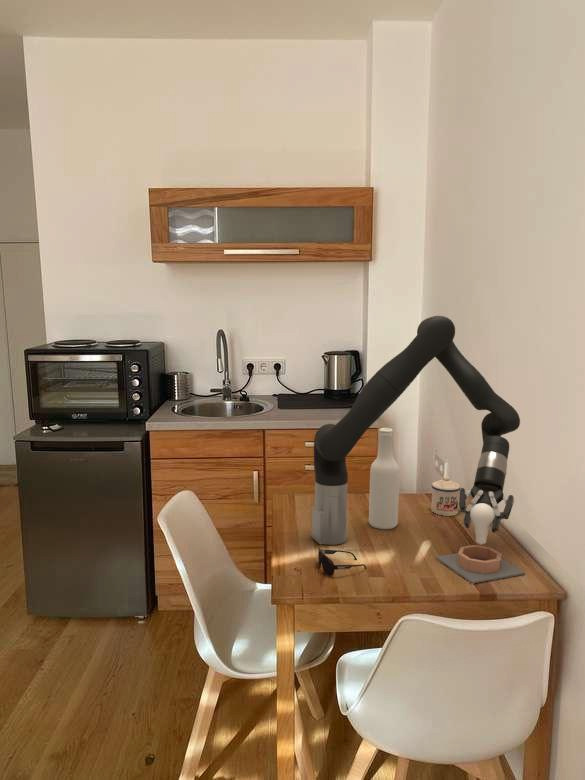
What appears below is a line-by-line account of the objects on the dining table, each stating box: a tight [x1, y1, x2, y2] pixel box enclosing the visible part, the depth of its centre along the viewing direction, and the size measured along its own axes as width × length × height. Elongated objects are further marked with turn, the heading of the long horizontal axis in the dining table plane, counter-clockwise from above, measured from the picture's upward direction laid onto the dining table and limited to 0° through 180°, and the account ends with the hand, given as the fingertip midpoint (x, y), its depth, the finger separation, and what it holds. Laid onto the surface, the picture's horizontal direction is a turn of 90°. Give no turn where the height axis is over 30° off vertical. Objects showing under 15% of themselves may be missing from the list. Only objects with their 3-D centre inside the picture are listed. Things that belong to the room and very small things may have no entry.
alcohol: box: [368, 427, 400, 530], centre depth 193 cm, size 9×9×30 cm
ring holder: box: [435, 544, 526, 584], centre depth 166 cm, size 16×16×4 cm
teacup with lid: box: [430, 476, 469, 517], centre depth 207 cm, size 12×9×12 cm
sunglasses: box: [317, 547, 367, 577], centre depth 165 cm, size 10×12×5 cm
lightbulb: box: [470, 503, 495, 546], centre depth 165 cm, size 6×6×11 cm
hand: (480, 529), depth 163 cm, fingers closed on lightbulb, 6 cm apart
